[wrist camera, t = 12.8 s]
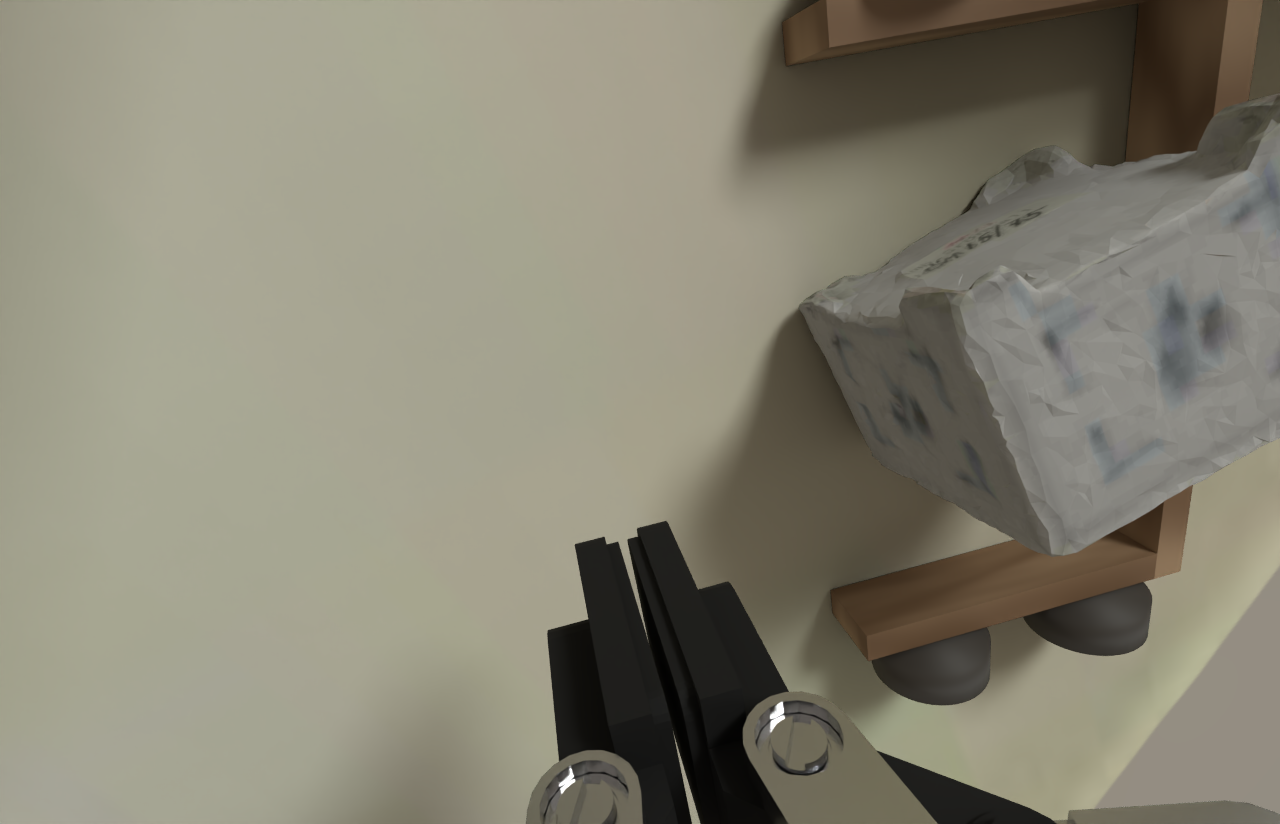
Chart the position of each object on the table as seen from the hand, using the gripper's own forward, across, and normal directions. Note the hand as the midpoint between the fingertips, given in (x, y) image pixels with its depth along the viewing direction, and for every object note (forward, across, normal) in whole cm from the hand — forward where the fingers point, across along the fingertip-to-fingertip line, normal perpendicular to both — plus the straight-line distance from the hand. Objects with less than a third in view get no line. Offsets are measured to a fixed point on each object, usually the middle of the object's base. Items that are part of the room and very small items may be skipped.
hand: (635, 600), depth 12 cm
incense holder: (+12, -14, 0) cm, 18 cm away
